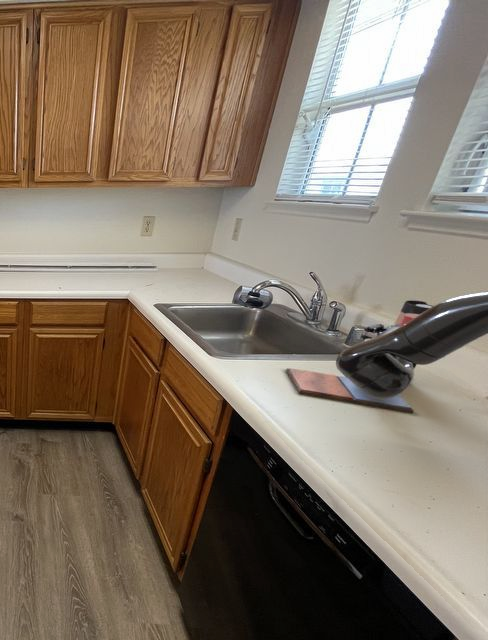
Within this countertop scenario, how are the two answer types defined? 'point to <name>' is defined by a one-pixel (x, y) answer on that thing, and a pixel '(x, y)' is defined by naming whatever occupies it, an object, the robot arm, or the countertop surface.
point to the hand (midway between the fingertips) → (412, 332)
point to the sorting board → (340, 390)
